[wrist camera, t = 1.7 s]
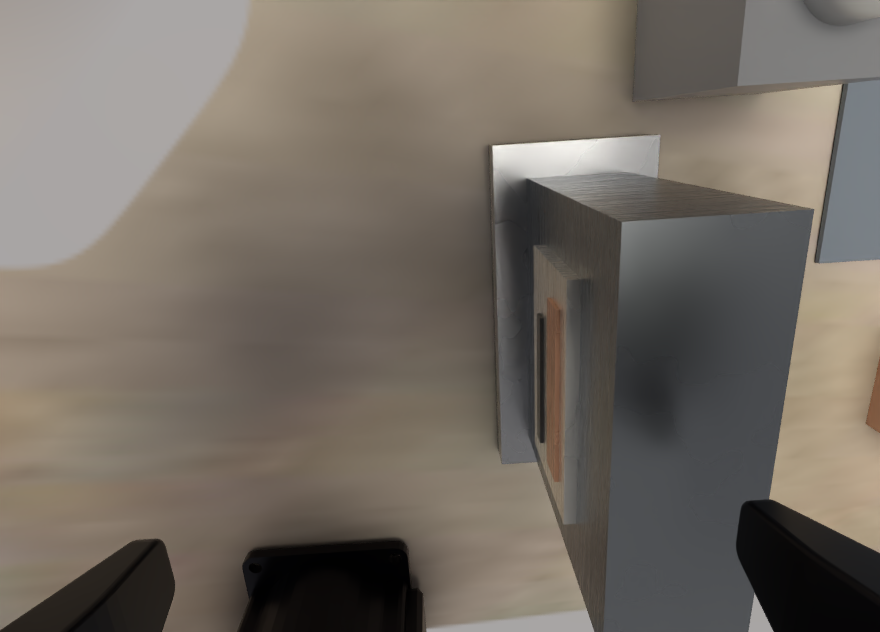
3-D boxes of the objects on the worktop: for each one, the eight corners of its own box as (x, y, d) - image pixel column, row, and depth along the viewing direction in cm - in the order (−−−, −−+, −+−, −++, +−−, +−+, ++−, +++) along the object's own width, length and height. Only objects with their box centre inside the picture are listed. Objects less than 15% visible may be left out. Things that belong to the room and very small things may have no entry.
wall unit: (498, 448, 21) (554, 693, 12) (488, 145, 17) (557, 159, 8) (630, 440, 21) (787, 677, 12) (647, 134, 17) (890, 137, 8)
